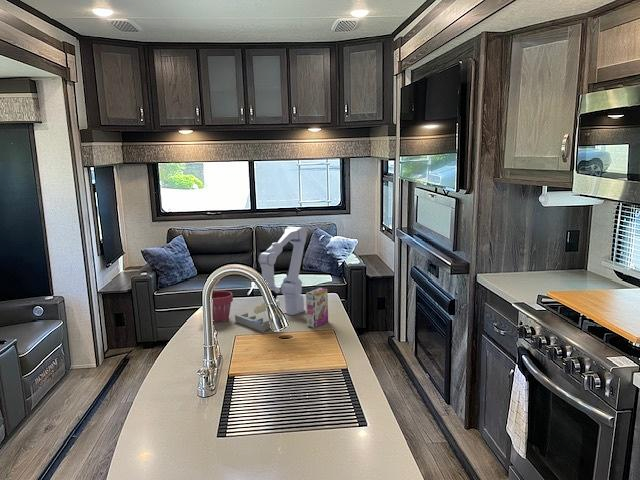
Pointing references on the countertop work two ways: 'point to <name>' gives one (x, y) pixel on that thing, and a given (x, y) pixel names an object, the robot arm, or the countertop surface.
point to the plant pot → (221, 305)
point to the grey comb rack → (252, 322)
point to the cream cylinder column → (263, 307)
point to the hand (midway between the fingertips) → (269, 304)
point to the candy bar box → (317, 307)
